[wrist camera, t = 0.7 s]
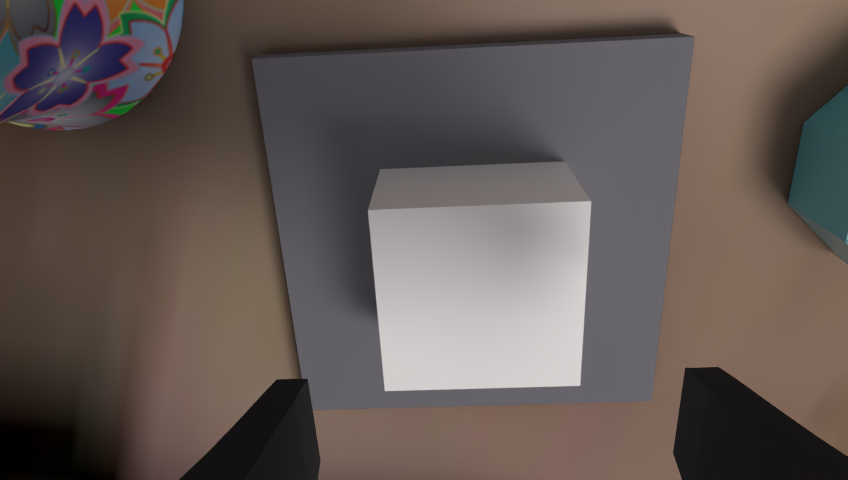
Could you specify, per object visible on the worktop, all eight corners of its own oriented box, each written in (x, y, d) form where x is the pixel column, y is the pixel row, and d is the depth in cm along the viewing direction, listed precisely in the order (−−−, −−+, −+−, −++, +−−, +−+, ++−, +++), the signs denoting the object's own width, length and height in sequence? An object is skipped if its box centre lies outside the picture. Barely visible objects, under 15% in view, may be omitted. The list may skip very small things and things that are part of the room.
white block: (558, 321, 20) (580, 385, 17) (393, 326, 20) (384, 391, 17) (564, 161, 18) (591, 201, 15) (380, 169, 18) (367, 210, 15)
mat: (642, 383, 22) (651, 401, 21) (312, 392, 23) (306, 410, 22) (680, 33, 17) (694, 36, 16) (261, 54, 18) (251, 58, 17)
